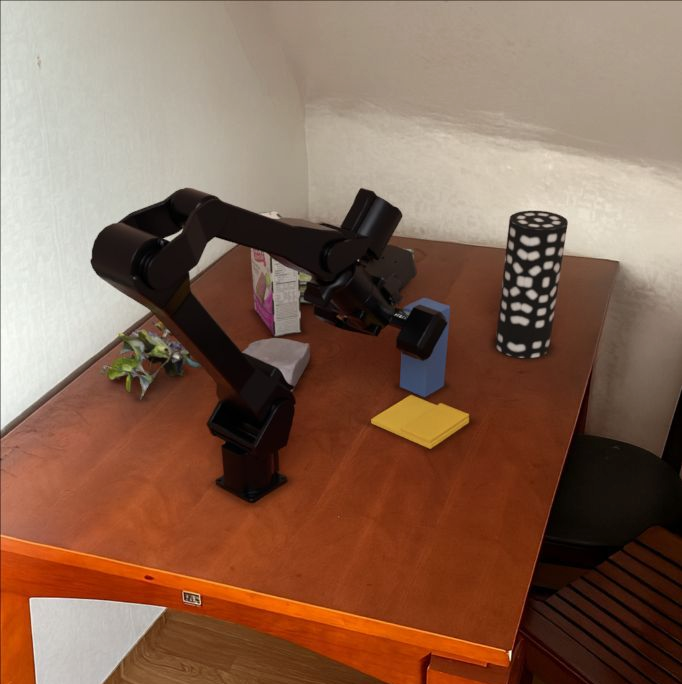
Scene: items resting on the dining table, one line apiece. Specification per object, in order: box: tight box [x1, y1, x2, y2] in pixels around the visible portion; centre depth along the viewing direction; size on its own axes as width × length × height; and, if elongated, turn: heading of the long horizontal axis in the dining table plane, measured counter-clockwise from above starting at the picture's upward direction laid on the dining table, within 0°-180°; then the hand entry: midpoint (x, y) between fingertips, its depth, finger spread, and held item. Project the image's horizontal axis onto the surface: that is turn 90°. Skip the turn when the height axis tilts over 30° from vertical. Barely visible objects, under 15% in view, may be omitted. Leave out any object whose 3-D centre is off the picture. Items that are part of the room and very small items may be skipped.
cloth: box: [370, 394, 470, 450], centre depth 128 cm, size 9×10×1 cm
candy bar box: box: [250, 210, 302, 337], centre depth 149 cm, size 11×5×16 cm, turn 22°
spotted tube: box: [494, 210, 569, 359], centre depth 142 cm, size 8×8×20 cm
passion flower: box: [100, 320, 202, 401], centre depth 134 cm, size 11×11×12 cm
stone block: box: [241, 337, 311, 393], centre depth 138 cm, size 12×5×10 cm
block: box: [399, 296, 451, 398], centre depth 133 cm, size 5×5×12 cm
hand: (403, 343), depth 129 cm, fingers open, 9 cm apart
